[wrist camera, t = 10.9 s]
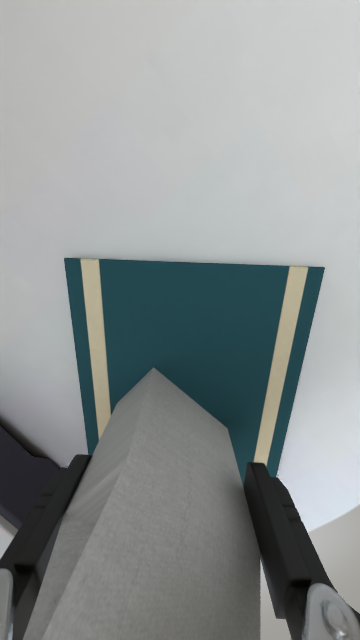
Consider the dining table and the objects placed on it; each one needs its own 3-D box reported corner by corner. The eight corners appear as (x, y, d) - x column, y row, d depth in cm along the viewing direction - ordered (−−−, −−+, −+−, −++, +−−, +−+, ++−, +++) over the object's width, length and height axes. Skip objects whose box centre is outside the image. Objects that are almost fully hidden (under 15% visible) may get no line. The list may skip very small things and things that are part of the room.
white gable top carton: (153, 367, 12) (37, 769, 2) (227, 428, 13) (342, 856, 4) (117, 403, 13) (-78, 811, 3) (190, 457, 14) (204, 872, 4)
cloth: (95, 490, 16) (93, 496, 15) (67, 258, 11) (63, 257, 10) (268, 497, 16) (270, 503, 15) (320, 267, 11) (325, 267, 10)
